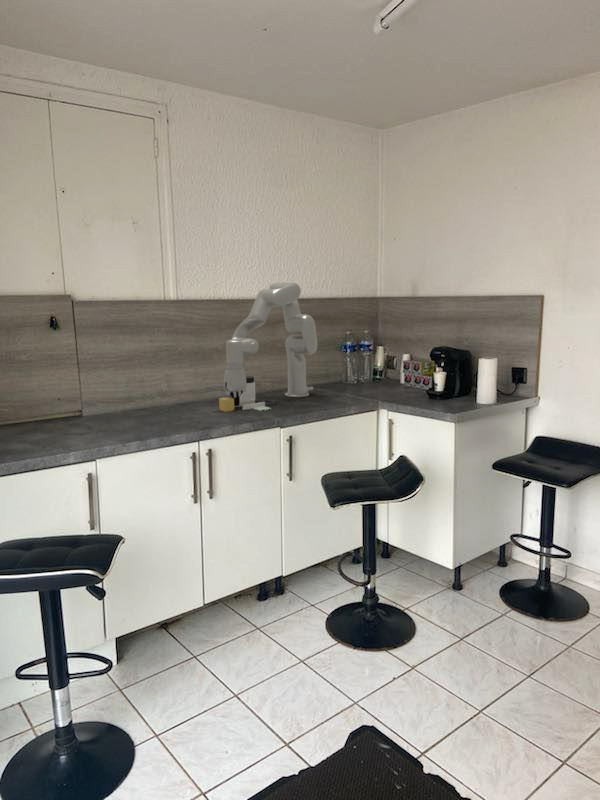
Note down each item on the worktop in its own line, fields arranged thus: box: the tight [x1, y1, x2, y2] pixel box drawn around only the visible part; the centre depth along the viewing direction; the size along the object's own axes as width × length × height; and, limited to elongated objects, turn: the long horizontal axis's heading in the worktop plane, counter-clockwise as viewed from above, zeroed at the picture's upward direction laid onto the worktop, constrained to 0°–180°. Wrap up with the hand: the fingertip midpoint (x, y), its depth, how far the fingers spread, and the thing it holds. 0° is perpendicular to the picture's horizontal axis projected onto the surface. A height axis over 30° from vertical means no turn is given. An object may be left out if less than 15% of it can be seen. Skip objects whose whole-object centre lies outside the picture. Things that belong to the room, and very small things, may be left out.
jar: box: [240, 375, 256, 401], centre depth 287 cm, size 9×8×12 cm
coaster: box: [251, 406, 272, 412], centre depth 267 cm, size 6×6×1 cm
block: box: [218, 396, 235, 412], centre depth 265 cm, size 5×5×6 cm
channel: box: [234, 398, 266, 411], centre depth 273 cm, size 12×10×2 cm
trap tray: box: [255, 399, 277, 407], centre depth 279 cm, size 7×8×1 cm
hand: (236, 405), depth 268 cm, fingers closed
